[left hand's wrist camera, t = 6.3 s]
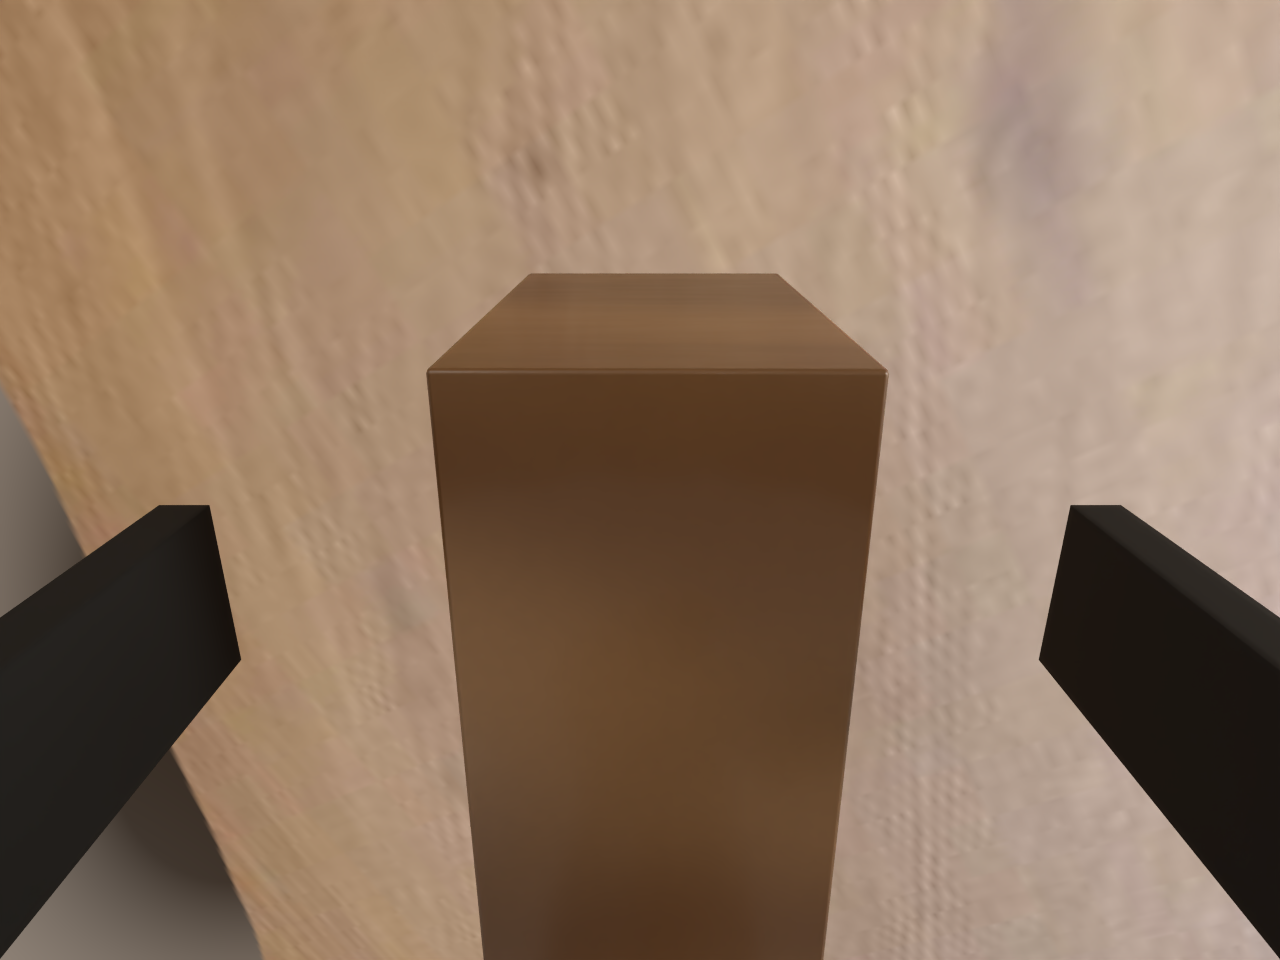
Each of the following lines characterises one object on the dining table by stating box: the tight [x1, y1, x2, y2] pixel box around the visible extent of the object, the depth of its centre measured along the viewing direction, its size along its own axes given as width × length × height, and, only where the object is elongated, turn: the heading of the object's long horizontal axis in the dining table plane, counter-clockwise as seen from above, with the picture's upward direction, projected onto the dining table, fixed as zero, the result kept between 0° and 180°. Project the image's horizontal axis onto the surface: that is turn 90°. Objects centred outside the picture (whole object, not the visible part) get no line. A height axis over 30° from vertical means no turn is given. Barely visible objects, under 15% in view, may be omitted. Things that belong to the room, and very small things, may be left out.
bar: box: [426, 274, 889, 960], centre depth 18 cm, size 28×5×9 cm, turn 0°
